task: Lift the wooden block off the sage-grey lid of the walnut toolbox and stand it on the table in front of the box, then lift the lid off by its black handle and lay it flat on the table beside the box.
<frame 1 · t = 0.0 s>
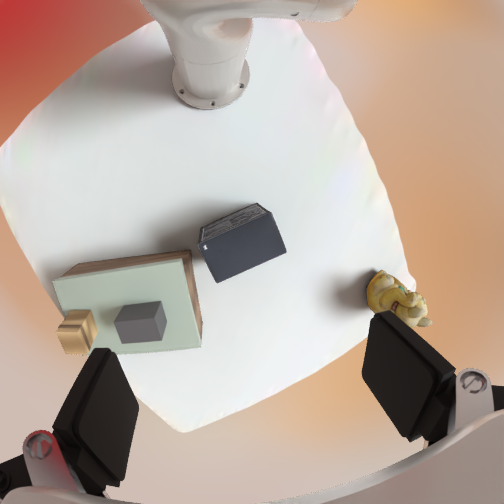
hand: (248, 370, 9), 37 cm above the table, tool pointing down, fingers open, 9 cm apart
decorative figurine: (377, 289, 52), on the table
toolbox lid: (124, 311, 38), point 8 cm above the table, touching toolbox, wooden block
small box: (236, 232, 45), on the table
toolbox: (137, 293, 46), on the table
wooden block: (84, 321, 36), point 10 cm above the table, touching toolbox lid
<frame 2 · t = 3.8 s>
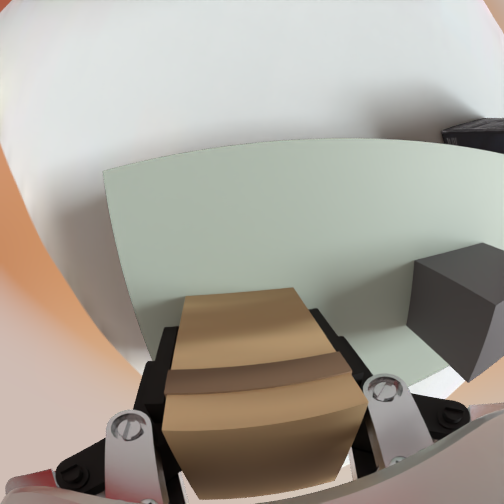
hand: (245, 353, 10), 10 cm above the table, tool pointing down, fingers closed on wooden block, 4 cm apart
toolbox lid: (378, 287, 12), point 8 cm above the table, touching toolbox, wooden block
small box: (471, 151, 20), on the table
wooden block: (242, 337, 10), point 10 cm above the table, touching gripper, toolbox lid
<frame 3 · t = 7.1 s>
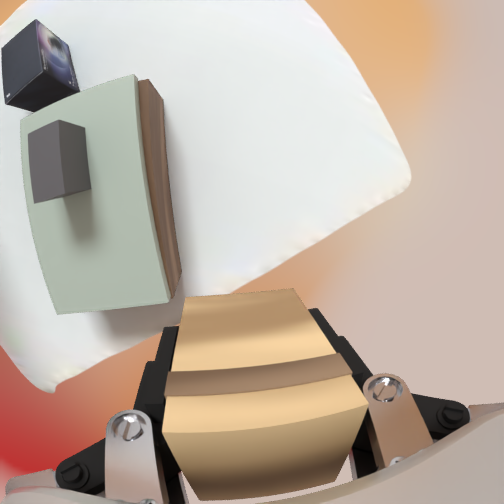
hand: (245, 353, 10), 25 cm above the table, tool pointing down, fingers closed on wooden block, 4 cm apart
toolbox lid: (85, 201, 23), point 8 cm above the table, touching toolbox
small box: (58, 79, 24), on the table
toolbox: (116, 194, 30), on the table
wooden block: (242, 338, 10), point 24 cm above the table, touching gripper
when the fingers open (2 cm above the table, at t = 10.9 s): wooden block drops 1 cm, on the table.
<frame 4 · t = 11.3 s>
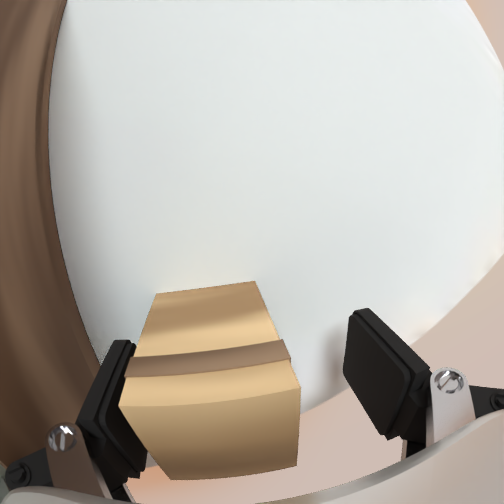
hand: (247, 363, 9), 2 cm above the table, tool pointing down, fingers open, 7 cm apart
wooden block: (212, 329, 11), on the table
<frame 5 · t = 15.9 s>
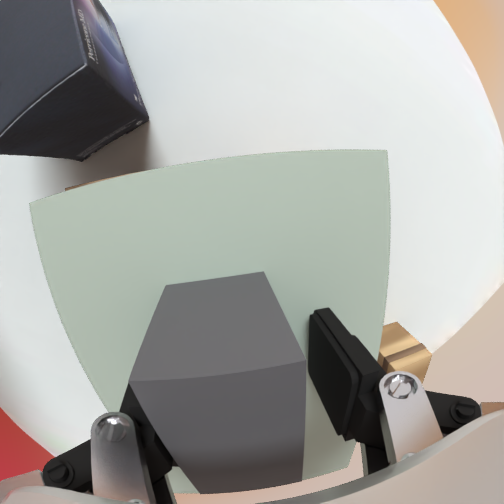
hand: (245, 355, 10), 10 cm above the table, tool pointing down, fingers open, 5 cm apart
toolbox lid: (237, 390, 13), point 8 cm above the table, touching gripper, toolbox
small box: (96, 85, 15), on the table
wooden block: (377, 343, 23), on the table
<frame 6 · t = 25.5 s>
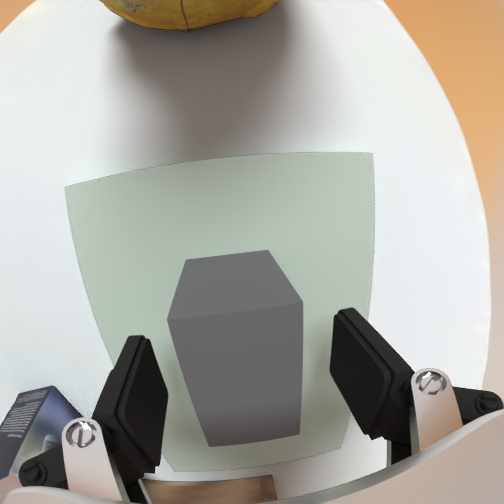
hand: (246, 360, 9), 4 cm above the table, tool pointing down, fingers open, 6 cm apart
toolbox lid: (241, 362, 15), on the table
small box: (77, 430, 15), on the table
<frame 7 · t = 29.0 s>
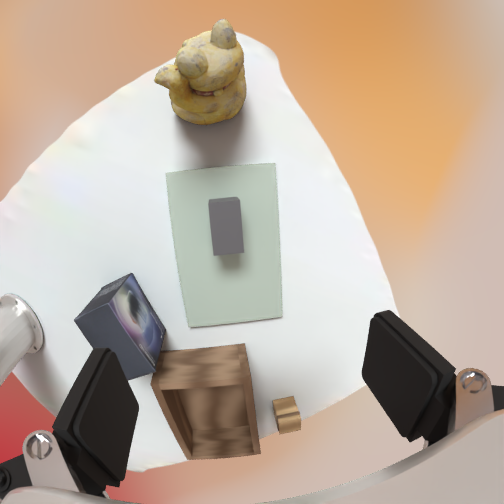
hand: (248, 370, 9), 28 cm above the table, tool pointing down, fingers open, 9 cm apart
decorative figurine: (212, 99, 31), on the table
toolbox lid: (227, 247, 37), on the table
small box: (134, 308, 38), on the table
toolbox: (212, 394, 44), on the table
wooden block: (283, 404, 47), on the table
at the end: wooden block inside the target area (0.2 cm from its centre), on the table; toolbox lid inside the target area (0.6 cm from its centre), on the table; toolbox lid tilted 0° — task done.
